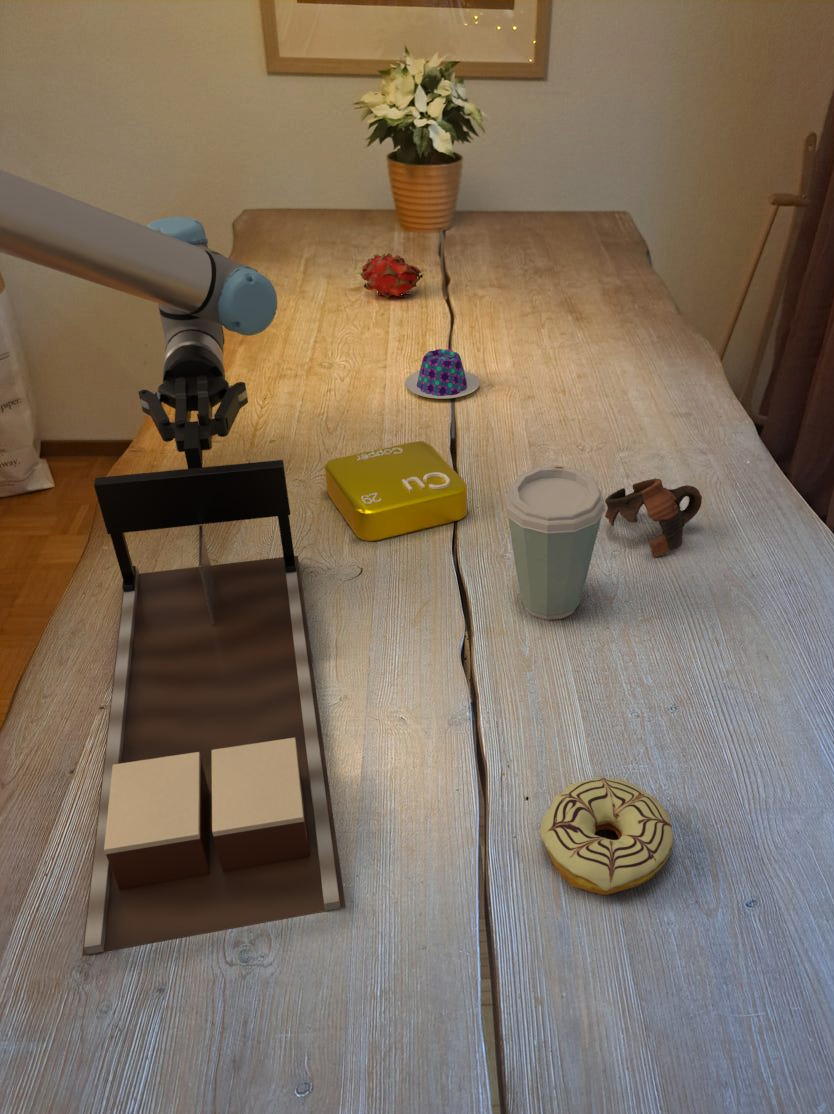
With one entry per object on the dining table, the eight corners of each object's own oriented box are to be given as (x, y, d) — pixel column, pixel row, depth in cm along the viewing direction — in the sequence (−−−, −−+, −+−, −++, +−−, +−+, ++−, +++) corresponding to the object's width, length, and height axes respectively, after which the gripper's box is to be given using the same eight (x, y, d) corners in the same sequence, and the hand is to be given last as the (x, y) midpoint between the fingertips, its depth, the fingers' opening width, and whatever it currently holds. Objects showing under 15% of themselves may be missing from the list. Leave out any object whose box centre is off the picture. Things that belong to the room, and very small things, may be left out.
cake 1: (126, 804, 81) (112, 764, 78) (209, 791, 82) (199, 751, 79) (119, 889, 74) (103, 849, 71) (209, 874, 75) (198, 834, 72)
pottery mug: (636, 570, 112) (613, 506, 110) (608, 559, 121) (587, 500, 119) (724, 530, 113) (703, 466, 111) (690, 522, 122) (671, 463, 120)
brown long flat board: (127, 583, 108) (122, 567, 107) (298, 563, 112) (296, 547, 110) (85, 965, 70) (78, 948, 69) (347, 916, 74) (344, 900, 72)
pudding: (492, 380, 152) (493, 349, 149) (457, 409, 144) (457, 376, 141) (428, 366, 157) (427, 335, 153) (390, 393, 148) (389, 361, 145)
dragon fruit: (357, 302, 184) (418, 310, 186) (360, 289, 176) (423, 296, 178) (360, 258, 184) (421, 266, 186) (362, 242, 175) (426, 251, 177)
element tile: (426, 466, 130) (425, 434, 127) (472, 518, 120) (472, 485, 117) (323, 489, 125) (319, 456, 122) (361, 545, 115) (358, 511, 112)
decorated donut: (515, 848, 79) (517, 819, 77) (596, 782, 85) (600, 753, 83) (612, 924, 73) (617, 895, 71) (692, 847, 79) (699, 818, 77)
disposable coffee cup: (590, 638, 101) (603, 519, 92) (491, 626, 103) (494, 507, 93) (598, 581, 109) (611, 467, 100) (507, 571, 111) (511, 457, 101)
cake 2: (221, 789, 82) (211, 749, 79) (301, 776, 84) (295, 737, 80) (222, 871, 76) (212, 831, 72) (310, 856, 77) (303, 816, 74)
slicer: (125, 577, 106) (95, 471, 98) (296, 557, 110) (282, 454, 101) (118, 636, 98) (86, 526, 90) (303, 612, 102) (289, 504, 93)
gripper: (250, 395, 124) (258, 483, 106) (148, 404, 121) (138, 495, 104) (241, 339, 119) (248, 422, 101) (135, 347, 117) (123, 433, 99)
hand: (193, 459), depth 102 cm, fingers closed
